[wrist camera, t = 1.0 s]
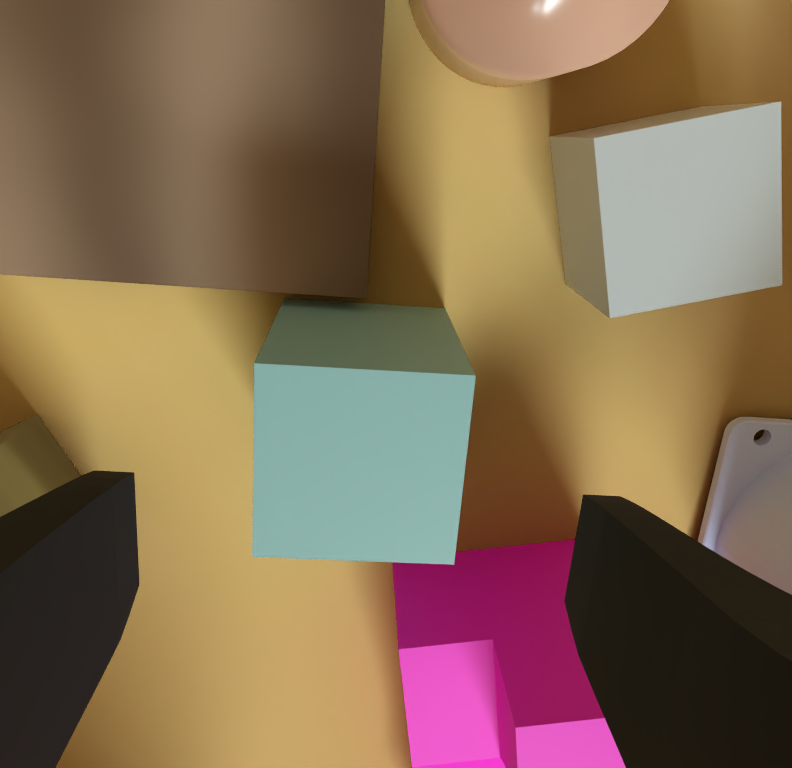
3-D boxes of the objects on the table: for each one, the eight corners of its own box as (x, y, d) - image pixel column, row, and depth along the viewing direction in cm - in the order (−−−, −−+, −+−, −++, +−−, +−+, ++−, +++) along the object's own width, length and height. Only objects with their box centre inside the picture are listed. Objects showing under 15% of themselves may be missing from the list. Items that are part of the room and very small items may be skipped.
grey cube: (698, 106, 19) (781, 100, 15) (704, 256, 20) (782, 285, 17) (548, 136, 19) (594, 138, 15) (564, 283, 20) (610, 318, 17)
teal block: (444, 307, 21) (475, 375, 15) (430, 452, 22) (454, 564, 16) (284, 297, 20) (254, 363, 15) (281, 445, 22) (252, 556, 16)
